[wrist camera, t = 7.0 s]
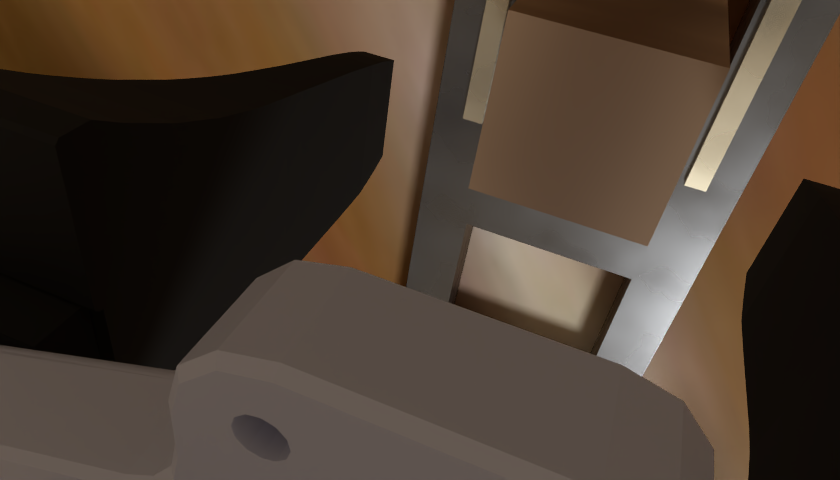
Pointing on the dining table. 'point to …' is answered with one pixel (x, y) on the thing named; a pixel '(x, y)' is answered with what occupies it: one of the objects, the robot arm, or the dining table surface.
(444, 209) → the grey peg holder tray
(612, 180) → the square peg block
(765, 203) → the dining table surface
